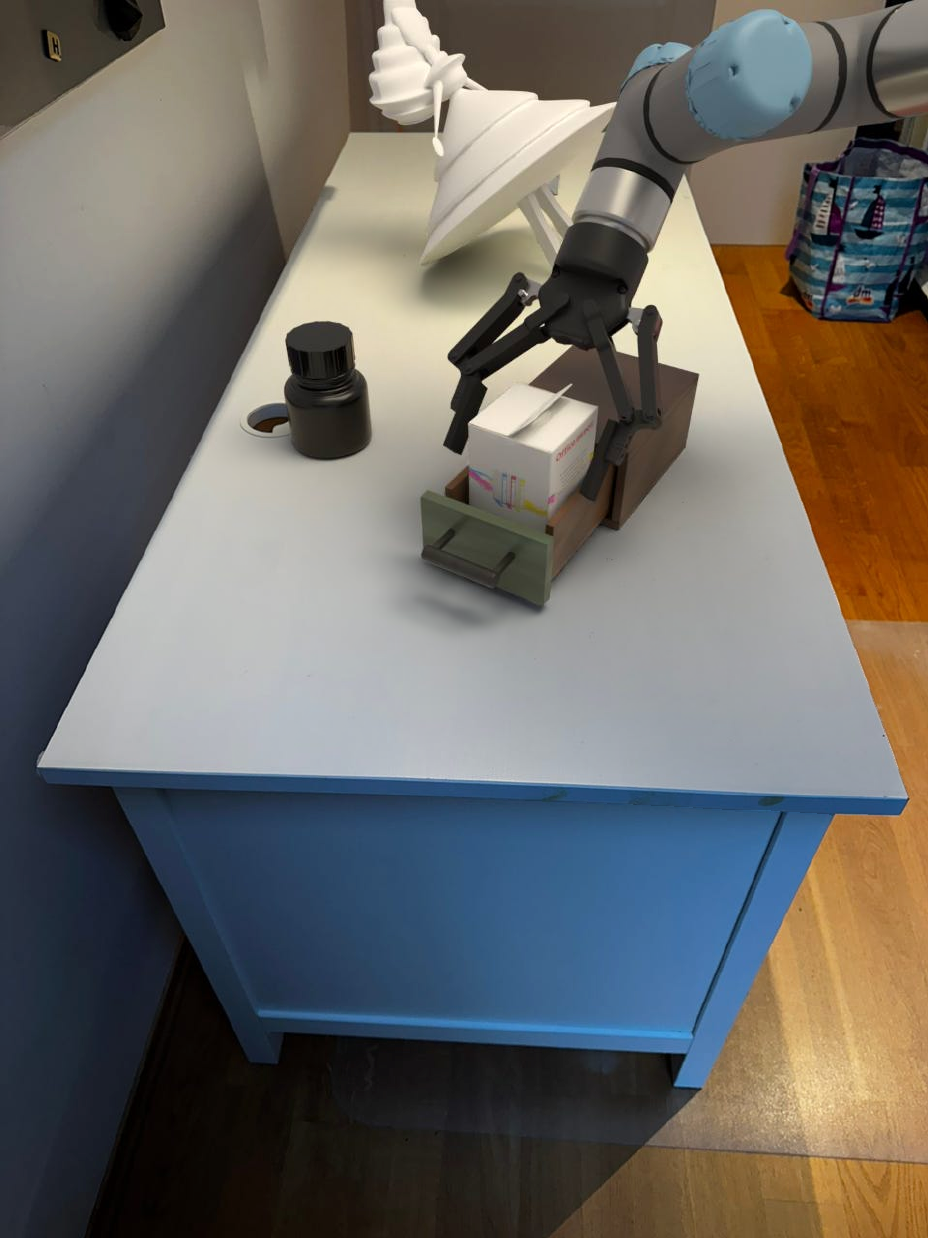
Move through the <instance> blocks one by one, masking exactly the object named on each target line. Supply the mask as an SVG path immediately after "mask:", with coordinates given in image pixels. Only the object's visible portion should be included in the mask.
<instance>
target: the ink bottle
mask: <svg viewBox="0 0 928 1238" xmlns="http://www.w3.org/2000/svg"><path fill="white" fill-rule="evenodd" d="M353 335H354V333H353V331H352V330H351V329H350V327H349V326H347V325H344V324H343V323H341V322H335V321H330V320H321V321H320V320H316V321H310V322H305V323H302V324H300V325H298V326H295V327H293V328H292V329H291V330H289V332H287V333H286V336H285V340H284V341H285V349H286V354H287V361H288V367H289V368H290V369H289V370H290V374H291V375H289V377H288V378H287V379H286V381H285V383H284V386H283V398H284V402H285V408H286V409H285V410H286V414H287V420H288V427H289V432H290V439H291V441H292V443H293V445H294V446H295V448H296V449H297V450H299V451H300V453H303V454H304V455H306V456H309V457H313V458H322V459H328V458H329V459H330V458H339V457H344V456H347V455H351V454H354V453H356V452H358V451H360V450H362V449H363V448H364V447H366V446H367V445H368V444H369V442H370V441H371V439H372V434H373V429H372V427H373V426H372V417H371V407H370V395H369V387H368V382H367V379H366V377H365V375H363V373H362V371H360V370H358V369H356V354H355V352H356V351H355V344H354V336H353Z"/></svg>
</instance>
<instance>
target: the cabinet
mask: <svg viewBox="0 0 928 1238" xmlns="http://www.w3.org/2000/svg"><path fill="white" fill-rule="evenodd" d="M616 351H617V354H618V359H619V362H620V365H621V368H622V371H623V374H624V377H625V380H626V383H627V386H628V389H629V392H630V395H631V398H632V401H633V404H634V407H635V410H642V405H641V390H640V375H639V360H638V356H636V355H632V354H628V353H625V352H621V351H618V350H616ZM658 365H659V379H660V394H661V408H662V426H661V427H660V428H659V429H657V430H652V429H640V430H638V431H636V432H635V434H634V436H633V438H632V440H631V443H630V445H629V448H628V450H627V453H626V455H625V458H624V460H623V462H622V463H621V464H620V465H619V466H618V473H617V480H616V488H615V496H614V504H613V508H612V509H611V511H610V512H609V513H608V514H607V515H606V517H605V518H604V519H603V520H602V521H601V522H600V524H599V525H603V526H606V527H609V528H611V529H613V530H617V531H620V529H621V528H622V527H623V526H624V524H625V523H626V522H627V520H628V519H629V518H630V517H631V515H633V513H634V512H635V511H636V510H637V509H638V507H639V506H640V504H641V503H642V502H643V501H644V500H645V499H646V497H647V496H648V495H649V494H650V492H651V491H652V490H653V488H654V487H655V486H656V485H657V484H658V482H659V481H660V480H661V479H662V477H663V476H664V475H665V473H666V472H667V471H668V470H669V469H670V468H671V466H672V465H673V464H674V462H675V461H676V460H677V459H678V457H680V456H681V454H682V453H683V451H684V450H685V449H686V447H687V443H688V438H689V437H688V436H689V431H690V425H691V420H692V416H693V410H694V405H695V400H696V394H697V388H698V383H699V379H700V373H698V372H695V371H691V370H688V369H684V368H679V367H676V366H674V365H673V366H672V365H668V364H665V363H662V362H658ZM570 384H572V386H571V387H570V388H569V389H568V390H567V391H565V392H564V393H563V394H562V395H561V396H564V397H567V398H571V399H574V400H577V401H581V402H584V403H587V404H591V405H594V406H598V415H597V424H596V434H595V444H594V451H595V450H596V448H597V445H598V443H599V440H600V438H601V436H602V433H603V431H604V428H605V426H606V423H607V421H608V419H611V420H615V421H617V422H619V420H620V419H619V418H618V413H617V410H616V407H615V404H614V401H613V397H612V394H611V391H610V388H609V385H608V382H607V379H606V376H605V373H604V370H603V367H602V364H601V361H600V358H599V355H598V352H597V350H596V348H594V349H589V351H584V350H581V349H579V348H577V347H576V346H574V345H570V347H569V348H568V349H566V350H564V352H563V353H562V354H560V356H559V357H557V358H556V359H555V360H554V361H553V362H552V363H551V364H549V366H547V367H546V368H545V369H544V370H543V371H542V372H540V374H538V375H537V376H536V377H535V378H534V379H533V380H531V381H530V382H529V383H528V384H527V385H530V386H533V387H536V388H540V389H543V390H546V391H549V392H552V393H555V394H556V393H558V392H559V391H561V390H562V389H564V388H565V387H567V386H568V385H570Z"/></svg>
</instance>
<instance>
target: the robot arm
mask: <svg viewBox="0 0 928 1238" xmlns="http://www.w3.org/2000/svg"><path fill="white" fill-rule="evenodd" d="M616 102H617V104H616V106H615V109H614V111H613V114H612V117H611V119H610V121H609V123H608V124H607V126H606V130H605V133H604V135H603V138H602V140H601V143H600V145H599V147H598V150H597V152H596V153H597V154H596V156H595V158H594V161H593V163H592V166H591V169H590V171H589V174H588V177H587V178H586V182H585V183H584V187H583V189H582V192H581V194H580V196H579V198H578V201H577V203H576V205H575V207H574V210H573V213H572V215H571V218H572V222H573V225H572V226H570V227H569V228H568V229H567V231H566V234H565V236H564V239H563V238H562V241H561V243H560V245H561V246H560V249H559V251H558V254H557V256H556V259H555V261H554V265H553V269H552V268H551V269H552V270H551V273H550V276H549V277H548V278H547V280H545V282H544V283H543V284H542V283H538V282H536V281H534V280H531V279H529V278H528V277H527V276H526V275H525V273H524V272H522V271H518V272H516V273H514V274H513V276H512V277H511V280H509V283H508V285H507V288H506V289H505V291H504V293H503V294H502V295H501V297H500V298H498V300H496V302H495V303H494V304H493V305H492V306H491V307H490V308H489V309H488V310H487V311H486V312H485V313H484V314H483V315H482V317H481V318H480V319H479V320H478V321H476V323H475V324H474V325H473V326H472V327H470V329H469V330H468V331H467V332H466V334H464V335H463V337H461V338H460V340H459V341H458V342H457V343H456V344H455V345H454V346H453V347H452V348H451V349H450V350H449V352H448V353H447V360H448V362H450V364H452V366H454V367H455V368H456V369H457V370H459V373H460V377H459V380H458V382H457V384H456V388H455V390H454V392H453V396H452V398H451V401H450V404H449V405H450V408H449V409H450V410H452V411H453V412H454V415H453V417H452V420H451V422H450V425H449V428H448V429H447V432H446V435H445V438H444V440H443V443H442V446H443V447H445V448H446V449H448V450H449V451H451V452H452V453H454V454H456V455H460V456H462V455H463V453H464V450H465V448H466V445H467V442H468V439H469V432H468V423H469V422H470V421H471V420H472V419H473V418H475V417H476V416H477V415H478V414H479V413H480V410H481V407H482V404H483V402H484V399H485V398H486V397H485V396H486V395H487V391H488V389H489V388H488V386H486V385H485V384H484V383H483V381H485V380H486V379H488V378H489V377H490V376H492V375H494V374H495V373H497V372H498V371H500V370H501V369H502V368H505V366H507V365H509V364H510V363H511V362H513V361H515V360H516V359H517V358H519V357H521V356H522V355H524V354H525V353H527V352H528V351H530V350H531V349H532V348H534V347H536V346H537V345H543V344H544V343H546V342H548V341H549V340H551V339H552V340H554V342H555V343H556V344H559V345H563V346H572V345H574V346H576V347H577V348H579V349H581V350H584V351H589V349H594V348H596V350H597V352H598V355H599V358H600V361H601V364H602V367H603V370H604V373H605V376H606V379H607V382H608V385H609V388H610V391H611V394H612V397H613V401H614V404H615V407H616V410H617V413H618V418H619V419H620V420H619V422H617V421H615V420H611V419H608V421H607V423H606V426H605V428H604V431H603V433H602V436H601V438H600V440H599V443H598V445H597V448H596V450H595V453H594V455H593V458H592V460H591V463H590V465H589V468H588V470H587V473H586V475H585V478H584V480H583V483H582V485H581V488H580V490H579V493H580V494H581V495H583V496H584V497H585V498H586V499H588V500H591V501H594V502H595V501H596V498H597V496H598V493H599V491H600V488H601V486H602V483H603V481H604V478H605V476H606V473H607V471H608V468H609V466H610V464H613V465H616V466H619V465H620V464H621V463H622V462H623V460H624V458H625V455H626V453H627V450H628V448H629V445H630V443H631V440H632V438H633V436H634V434H635V432H636V431H638V430H640V429H652V430H657V429H659V428H660V427H661V426H662V408H661V394H660V379H659V365H658V363H659V352H658V342H659V338H660V334H661V331H662V327H663V324H664V323H663V322H664V321H663V317H662V316H661V314H660V312H659V310H658V307H657V306H656V305H654V304H648V305H646V306H644V308H641V307H635V306H634V307H633V306H632V303H633V300H634V298H635V296H636V295H637V292H638V290H639V286H640V284H641V282H642V279H643V277H644V275H645V272H646V269H647V267H648V264H649V255H648V254H650V253H651V252H652V251H654V248H655V246H656V244H657V241H658V239H659V236H660V234H661V231H662V229H663V227H664V224H665V221H666V219H667V216H668V214H669V212H670V209H671V207H672V205H673V202H674V199H675V196H676V194H677V192H678V189H679V187H680V185H681V183H682V179H683V177H684V175H685V172H686V171H687V169H688V167H689V166H692V165H694V164H697V163H699V162H702V161H704V160H707V158H710V157H712V156H714V155H716V154H719V153H721V152H723V151H725V150H728V149H732V148H735V147H739V146H743V145H749V144H755V143H756V144H757V143H762V142H767V141H774V140H779V139H780V140H781V139H785V138H786V139H787V138H791V137H798V136H803V135H810V134H813V133H818V132H826V131H834V130H839V129H846V128H847V129H848V128H854V127H861V126H870V125H871V126H873V125H878V124H886V123H887V124H888V123H893V122H895V121H898V120H903V119H906V118H913V117H919V116H926V115H928V0H910V1H907V2H905V3H899V4H895V5H893V6H889V7H886V8H883V9H879V10H875V11H872V12H868V13H864V14H860V15H859V14H858V15H853V16H849V17H841V18H836V19H830V20H824V21H823V20H822V21H817V20H816V21H809V22H800V23H799V22H798V23H797V21H796V20H794V19H792V18H789V17H787V16H785V15H784V14H783V13H781V12H780V11H777V10H775V9H770V8H769V9H768V8H767V9H757V10H753V11H750V12H748V13H746V14H744V15H743V16H741V17H739V18H737V19H734V20H730V21H729V22H726V23H723V24H721V26H719V28H718V29H717V30H713V31H712V32H711V33H710V34H709V35H708V36H707V37H706V38H705V39H704V40H702V41H701V42H699V43H698V44H697V45H695V46H694V47H691V46H689V45H687V44H683V43H680V42H675V41H674V42H672V41H669V42H666V43H665V44H660V43H653V44H650V45H649V46H647V47H646V48H643V50H642V51H641V52H640V53H639V54H638V56H637V57H636V58H635V61H634V62H633V65H632V66H631V69H630V71H629V73H628V75H627V77H626V79H624V81H623V83H622V84H621V86H620V90H619V93H618V95H617V100H616ZM536 300H538V304H539V308H538V309H537V310H535V311H533V312H532V313H530V314H529V315H527V316H526V317H525V318H524V319H523V321H522V323H520V324H519V325H518V326H516V327H515V328H513V329H512V330H510V331H509V332H507V333H506V334H505V335H503V333H504V332H506V330H507V329H508V328H509V327H510V326H511V325H512V324H513V323H514V322H515V321H516V320H517V319H518V317H520V315H521V314H522V313H523V312H524V310H525V308H527V307H531V306H532V305H533V302H535V301H536ZM629 324H631V328H632V331H633V333H634V334H635V336H636V343H637V357H638V360H639V375H640V390H641V405H642V410H635V407H634V404H633V401H632V398H631V395H630V392H629V389H628V386H627V383H626V380H625V377H624V374H623V371H622V368H621V365H620V362H619V359H618V354H617V351H618V350H617V348H616V345H615V342H614V339H613V336H614V335H616V334H617V333H618V332H620V331H621V330H622V329H624V328H625V327H626V326H628V325H629ZM501 335H503V336H502V337H501ZM500 337H501V338H500Z"/></svg>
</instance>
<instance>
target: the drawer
mask: <svg viewBox="0 0 928 1238" xmlns="http://www.w3.org/2000/svg"><path fill="white" fill-rule="evenodd" d="M594 453H595V451H594ZM594 453H593V455H594ZM617 473H618V466H616V465H613V464H610V466H609V468H608V471H607V473H606V476H605V478H604V481H603V483H602V486H601V488H600V491H599V493H598V496H597V498H596V501H595V502H594V501H591V500H588V499H586V498H585V497H584V496H583V495H581V494H580V493H579V490H580V488H581V486H580V487H579V488H578V489H577V490H576V491H575V493H574V494H573V495H572V496H571V497H570V498H569V499H568V500H567V501H566V502H565V504H564V505H563V506H562V507H561V508H560V509H559V510H558V511H557V512H556V514H555V515H554V516H553V517H552V518H551V519H550V520H549V521H548V522H547V523H546V530H545V533H542V532H539V531H537V530H534V529H531V528H529V527H526V526H523V525H521V524H518V523H515V522H513V521H510V520H507V519H505V518H502V517H499V516H497V515H494V514H491V513H488V512H486V511H483V510H480V509H478V508H475V507H472V506H470V505H469V464H468V465H467V466H465V467H464V468H463V469H462V470H461V471H460V472H458V474H457V475H456V476H455V477H453V478H452V479H451V480H450V481H449V482H448V483H447V484H446V485H445V486H444V495H443V494H440V493H437V492H435V491H432V490H429V489H427V490H426V491H425V492H424V493H423V494H421V495H420V497H419V498H420V514H421V515H420V516H421V532H422V534H421V535H422V550H421V554H420V559H421V560H422V561H425V562H426V563H430V564H432V565H434V566H437V567H439V568H442V569H444V570H446V571H449V572H451V573H454V574H455V575H458V576H461V577H463V578H465V579H468V580H470V581H473V582H476V583H478V584H480V585H483V586H486V587H488V588H490V589H495V588H498V589H501V590H504V591H506V592H508V593H510V594H513V595H516V596H518V597H520V598H523V599H525V600H528V601H530V602H533V603H535V604H537V605H540V606H542V607H544V606H545V605H546V603H547V602H548V601H549V599H550V598H551V588H552V587H551V586H552V581H553V580H554V579H555V577H556V576H557V575H558V574H559V573H560V572H561V570H562V569H563V568H564V566H565V565H566V564H567V563H568V562H569V561H570V559H571V558H572V557H573V556H574V555H575V554H576V552H577V551H578V550H579V549H580V547H582V545H583V544H584V543H585V542H586V541H587V539H588V538H589V537H590V536H591V534H593V532H594V531H595V530H596V529H597V528H598V526H599V525H601V524H600V522H601V521H602V520H603V519H604V518H605V517H606V515H607V514H608V513H609V512H610V511H611V509H612V508H613V504H614V496H615V488H616V480H617Z"/></svg>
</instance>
